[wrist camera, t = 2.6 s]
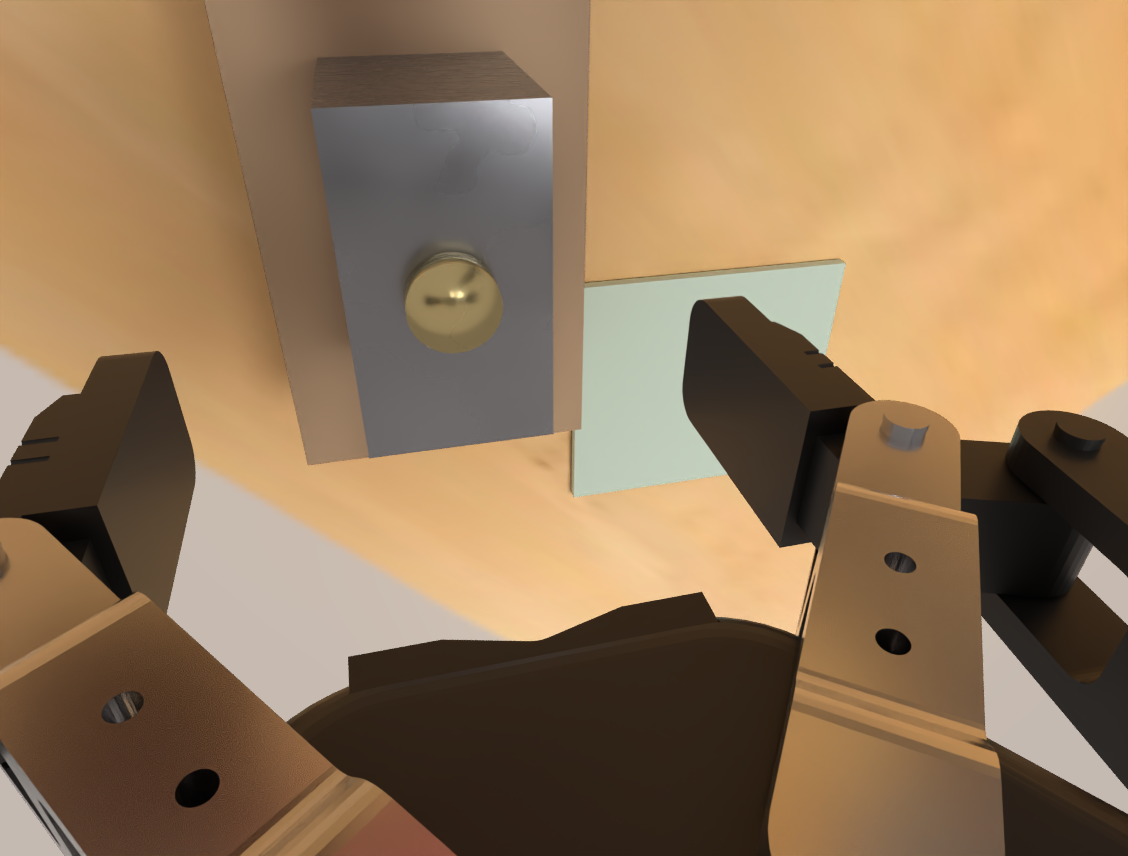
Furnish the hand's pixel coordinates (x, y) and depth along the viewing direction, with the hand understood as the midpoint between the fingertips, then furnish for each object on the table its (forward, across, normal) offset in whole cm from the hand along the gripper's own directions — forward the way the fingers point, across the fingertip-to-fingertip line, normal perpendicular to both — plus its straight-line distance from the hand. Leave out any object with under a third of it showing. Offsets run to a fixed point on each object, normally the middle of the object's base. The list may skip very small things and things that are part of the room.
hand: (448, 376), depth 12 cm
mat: (+13, -11, +9) cm, 19 cm away
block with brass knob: (+8, 0, 0) cm, 8 cm away
